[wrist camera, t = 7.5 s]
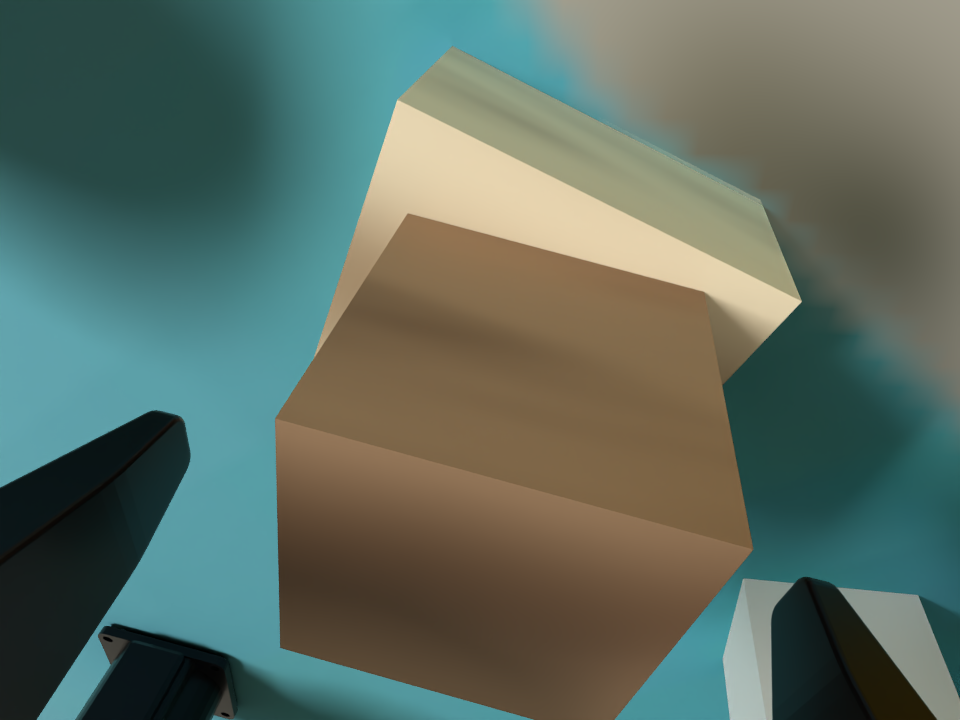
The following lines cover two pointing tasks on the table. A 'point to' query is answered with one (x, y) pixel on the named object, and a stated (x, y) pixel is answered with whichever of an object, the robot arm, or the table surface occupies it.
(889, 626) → the grey cube
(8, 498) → the robot arm
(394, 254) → the walnut cube
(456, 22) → the table surface
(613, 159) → the maple block
